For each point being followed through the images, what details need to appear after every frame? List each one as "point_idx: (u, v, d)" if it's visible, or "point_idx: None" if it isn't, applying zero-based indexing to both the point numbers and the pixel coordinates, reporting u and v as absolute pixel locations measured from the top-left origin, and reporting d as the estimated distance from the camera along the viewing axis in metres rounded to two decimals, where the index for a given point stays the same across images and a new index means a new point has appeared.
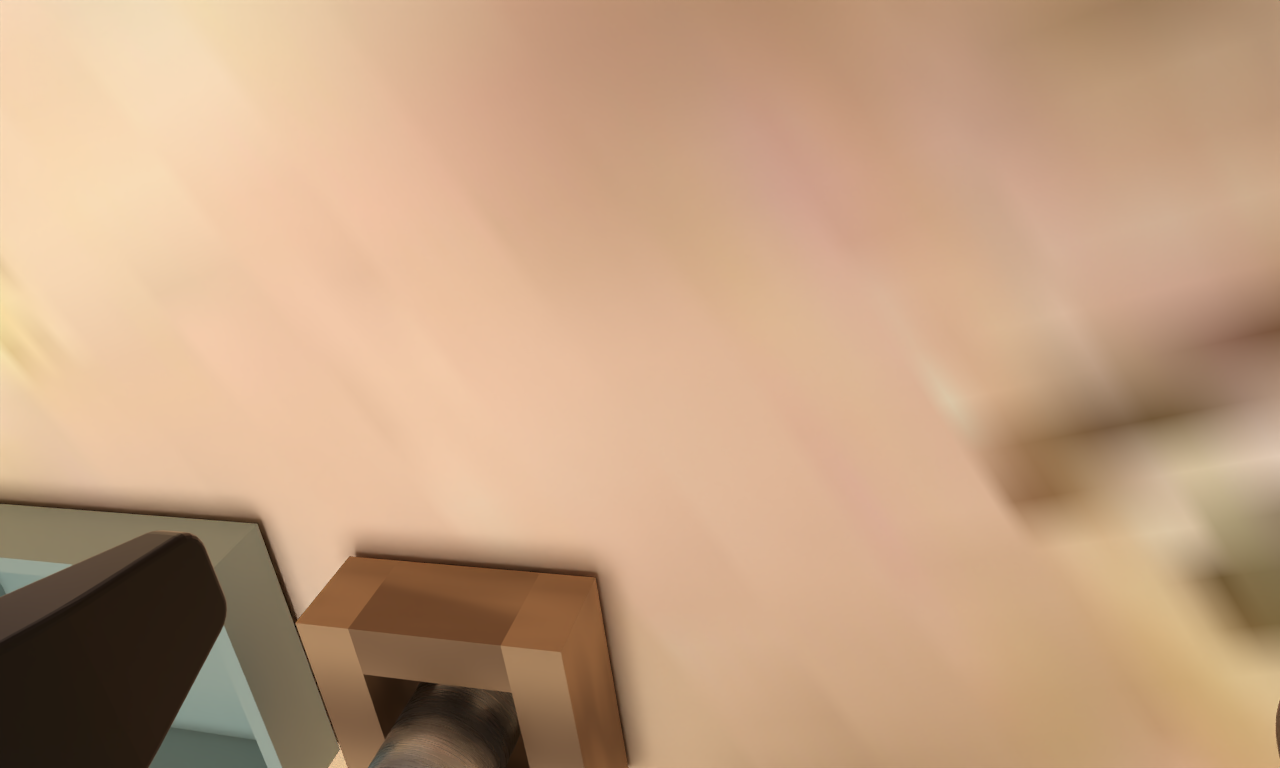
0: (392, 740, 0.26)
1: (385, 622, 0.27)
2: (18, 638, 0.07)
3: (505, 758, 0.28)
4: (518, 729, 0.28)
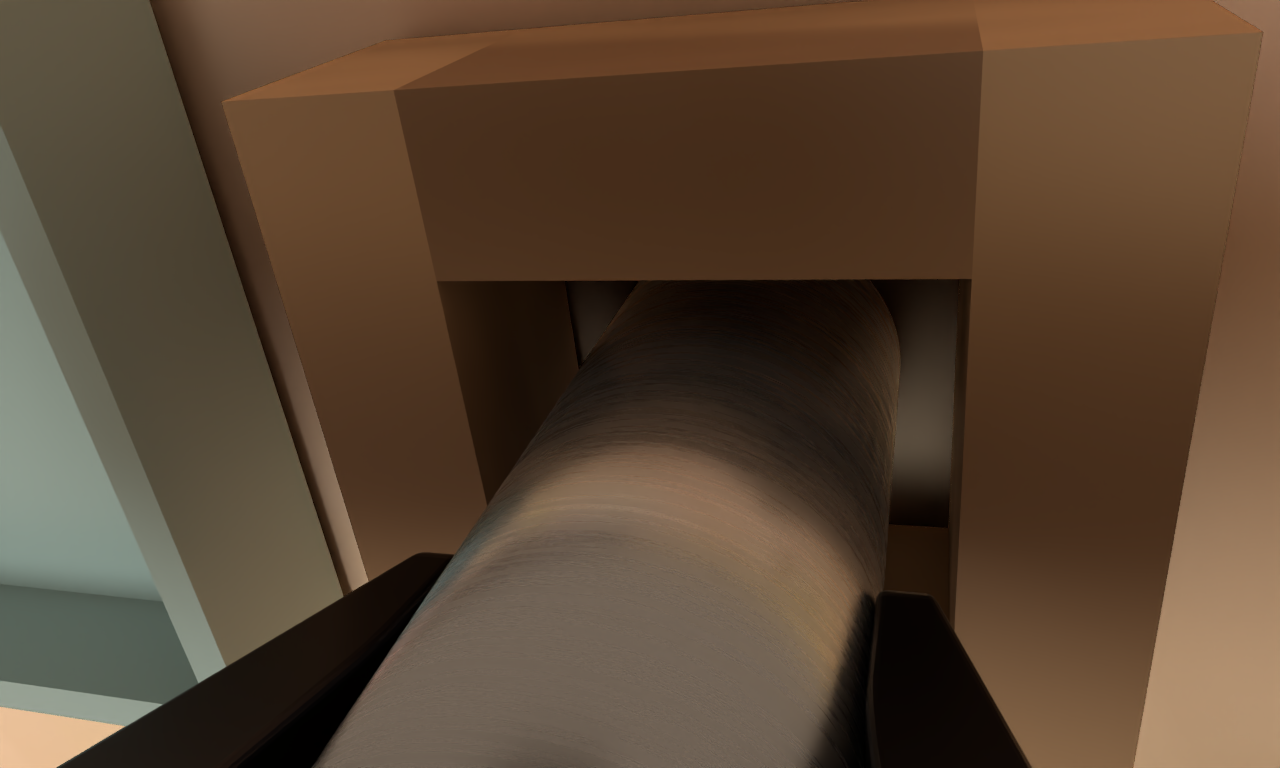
0: (550, 446, 0.08)
1: (517, 74, 0.08)
2: (333, 678, 0.07)
3: None
4: None
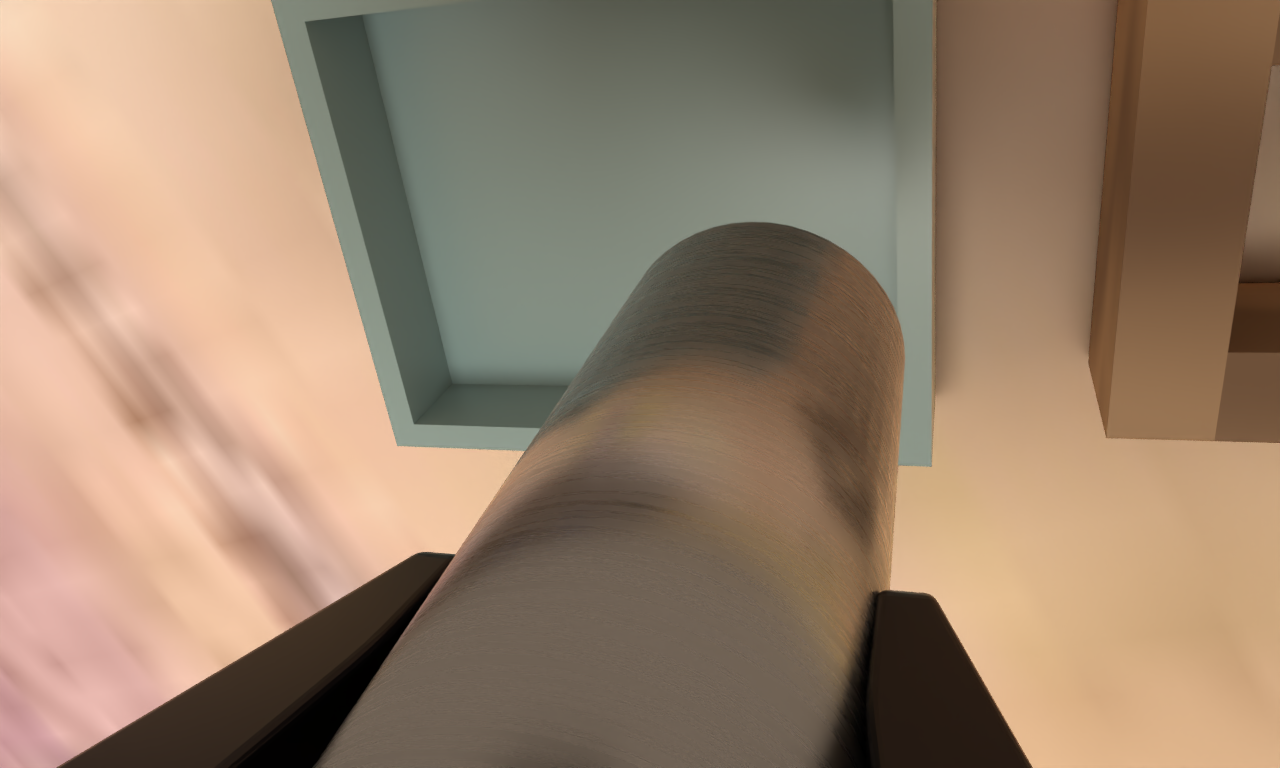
0: (554, 442, 0.07)
1: None
2: (333, 678, 0.07)
3: None
4: None
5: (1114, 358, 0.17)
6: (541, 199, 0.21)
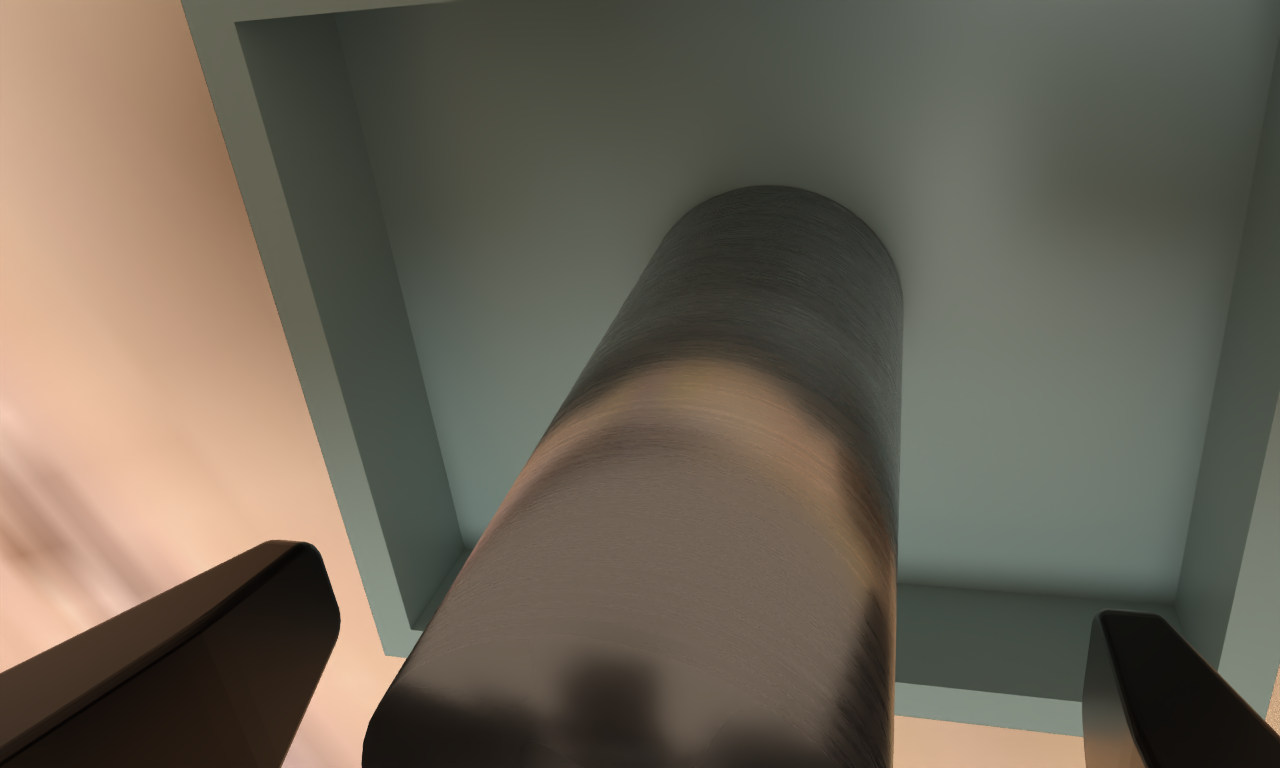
0: (608, 366, 0.09)
1: None
2: (154, 656, 0.07)
3: None
4: None
5: None
6: (615, 302, 0.13)
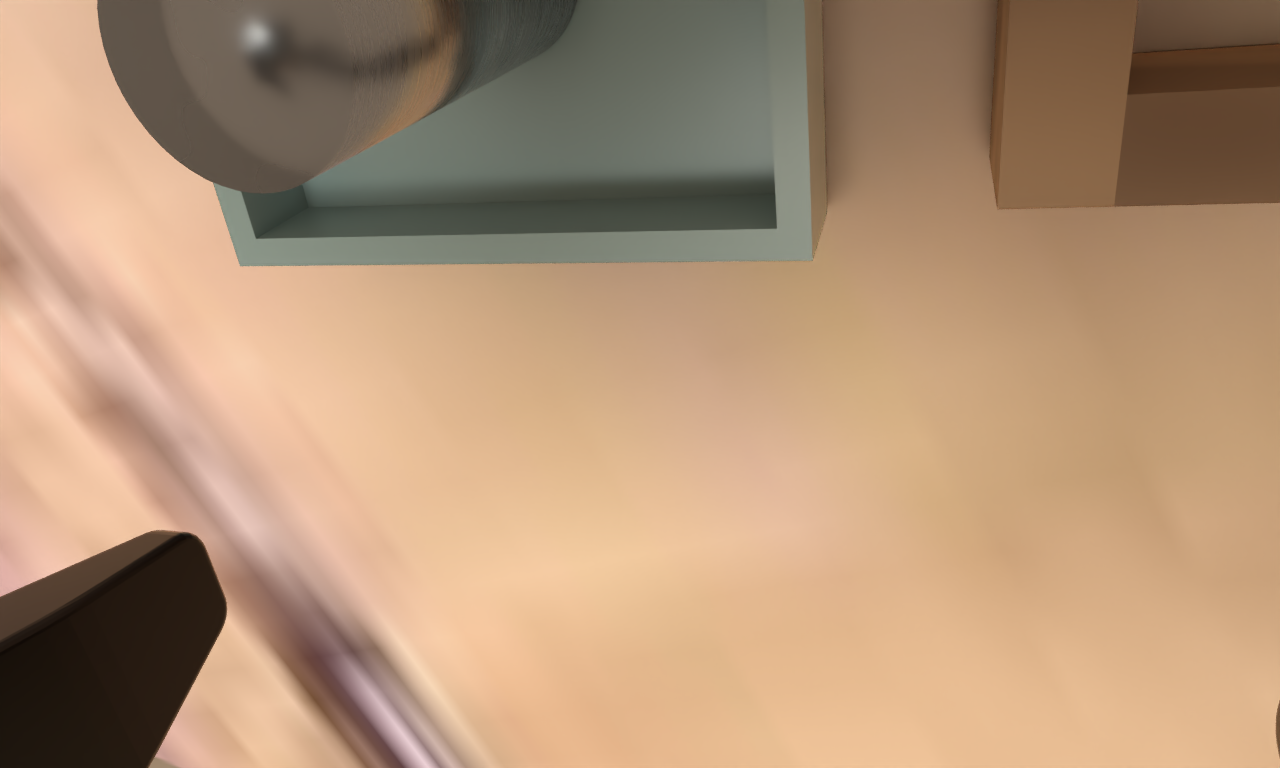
0: None
1: None
2: (18, 638, 0.07)
3: None
4: None
5: (1004, 109, 0.15)
6: None
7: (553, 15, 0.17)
